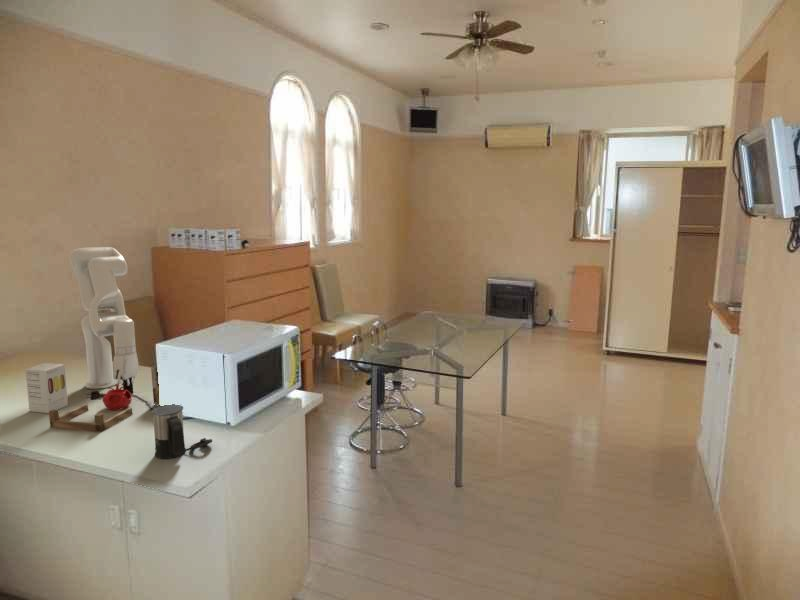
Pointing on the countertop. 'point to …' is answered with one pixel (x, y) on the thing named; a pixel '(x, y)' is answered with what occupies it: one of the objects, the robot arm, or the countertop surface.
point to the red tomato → (117, 398)
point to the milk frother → (171, 432)
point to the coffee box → (155, 384)
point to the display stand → (98, 426)
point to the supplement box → (46, 387)
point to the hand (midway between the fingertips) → (128, 394)
